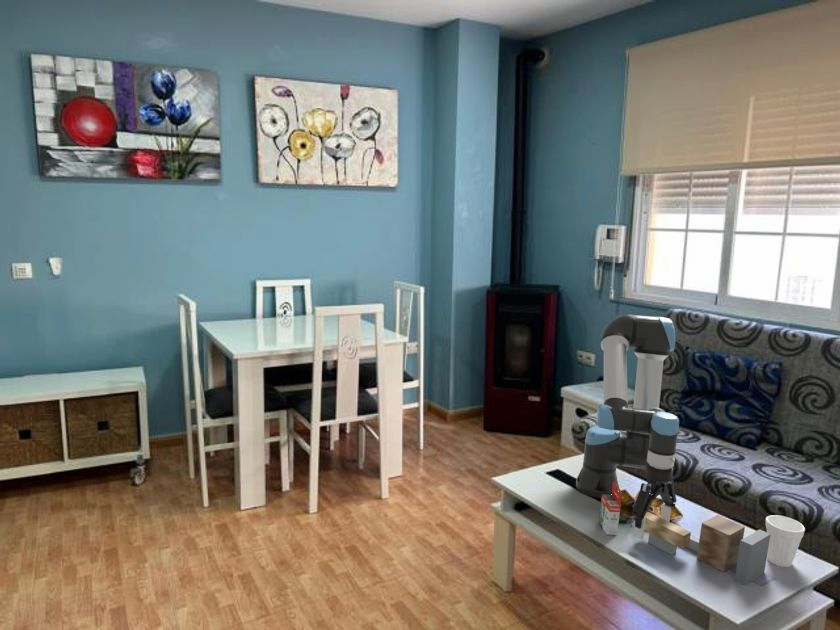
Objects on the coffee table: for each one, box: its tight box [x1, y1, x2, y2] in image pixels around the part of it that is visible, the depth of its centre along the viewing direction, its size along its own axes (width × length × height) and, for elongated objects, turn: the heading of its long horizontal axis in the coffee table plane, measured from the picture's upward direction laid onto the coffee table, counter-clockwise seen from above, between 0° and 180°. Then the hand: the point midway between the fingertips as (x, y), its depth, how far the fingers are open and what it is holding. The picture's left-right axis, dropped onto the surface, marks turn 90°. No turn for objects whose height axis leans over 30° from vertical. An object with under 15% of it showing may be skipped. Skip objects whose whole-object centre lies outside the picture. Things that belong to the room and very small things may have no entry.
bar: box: [644, 511, 692, 549], centre depth 182 cm, size 14×4×4 cm, turn 37°
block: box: [696, 514, 746, 573], centre depth 176 cm, size 8×9×11 cm
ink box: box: [598, 481, 623, 536], centre depth 193 cm, size 4×8×15 cm, turn 2°
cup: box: [765, 514, 806, 568], centre depth 178 cm, size 10×10×13 cm
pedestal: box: [647, 532, 678, 556], centre depth 183 cm, size 8×2×5 cm, turn 37°
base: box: [685, 529, 771, 586], centre depth 178 cm, size 26×11×13 cm, turn 37°
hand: (651, 531), depth 185 cm, fingers open, 13 cm apart
